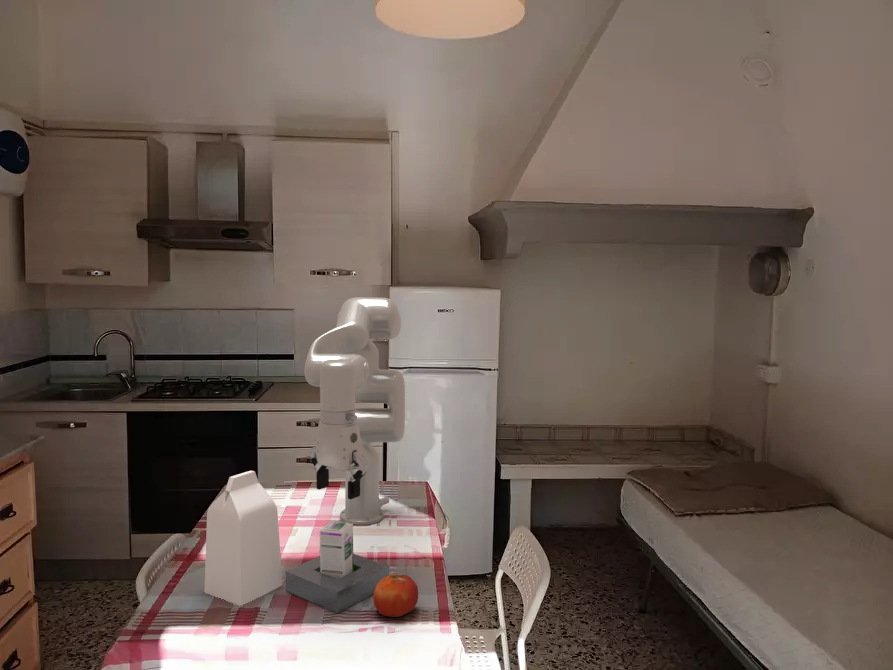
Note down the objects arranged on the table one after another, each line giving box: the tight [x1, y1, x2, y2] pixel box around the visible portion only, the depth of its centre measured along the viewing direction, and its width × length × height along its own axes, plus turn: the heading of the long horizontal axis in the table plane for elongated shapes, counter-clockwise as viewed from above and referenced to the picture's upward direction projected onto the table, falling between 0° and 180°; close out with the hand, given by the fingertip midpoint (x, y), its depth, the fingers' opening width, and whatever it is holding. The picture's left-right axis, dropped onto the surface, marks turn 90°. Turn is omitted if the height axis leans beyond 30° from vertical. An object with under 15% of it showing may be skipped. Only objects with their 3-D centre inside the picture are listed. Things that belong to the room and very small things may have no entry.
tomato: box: [372, 573, 419, 618], centre depth 143 cm, size 9×9×8 cm
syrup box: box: [319, 520, 354, 580], centre depth 153 cm, size 6×6×14 cm
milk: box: [203, 470, 284, 605], centre depth 151 cm, size 12×12×26 cm
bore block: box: [285, 553, 390, 614], centre depth 153 cm, size 16×16×4 cm
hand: (338, 492), depth 152 cm, fingers open, 9 cm apart
